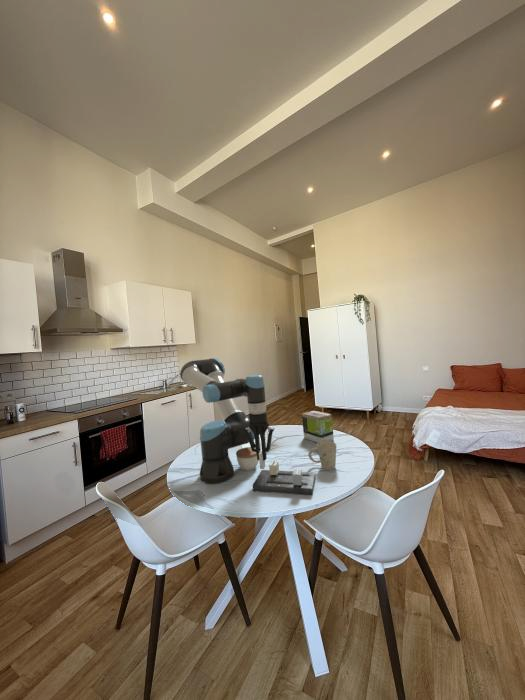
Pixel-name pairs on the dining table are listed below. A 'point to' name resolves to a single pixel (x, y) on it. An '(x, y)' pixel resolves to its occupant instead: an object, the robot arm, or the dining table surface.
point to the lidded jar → (247, 458)
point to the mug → (325, 454)
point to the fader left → (274, 467)
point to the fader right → (297, 477)
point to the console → (284, 483)
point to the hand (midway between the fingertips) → (262, 467)
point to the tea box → (317, 426)
